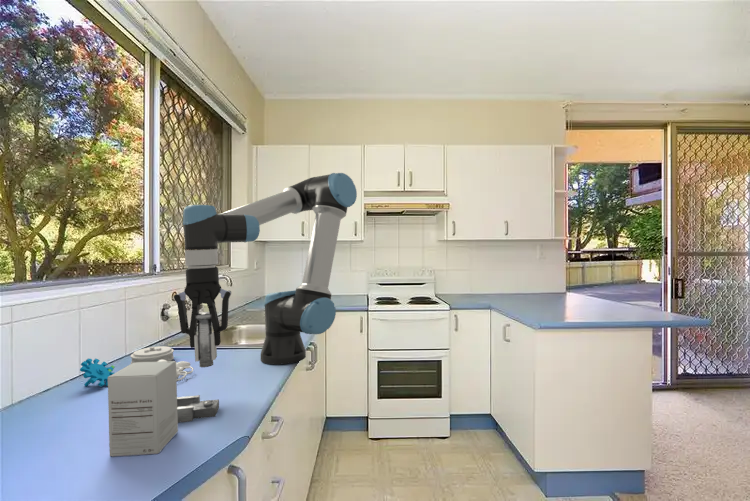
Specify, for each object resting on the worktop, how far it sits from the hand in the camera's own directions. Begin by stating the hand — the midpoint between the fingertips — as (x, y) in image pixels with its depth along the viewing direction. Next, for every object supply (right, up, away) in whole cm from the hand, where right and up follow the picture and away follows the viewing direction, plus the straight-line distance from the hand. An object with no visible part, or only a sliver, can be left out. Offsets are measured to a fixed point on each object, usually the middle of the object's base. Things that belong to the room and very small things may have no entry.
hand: (206, 358), depth 98 cm
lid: (-32, -11, +32) cm, 47 cm away
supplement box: (-2, -11, -22) cm, 25 cm away
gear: (-35, -11, +11) cm, 38 cm away
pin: (0, -2, 0) cm, 2 cm away
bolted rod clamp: (-2, -10, -10) cm, 14 cm away
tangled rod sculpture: (-19, -11, +15) cm, 26 cm away
